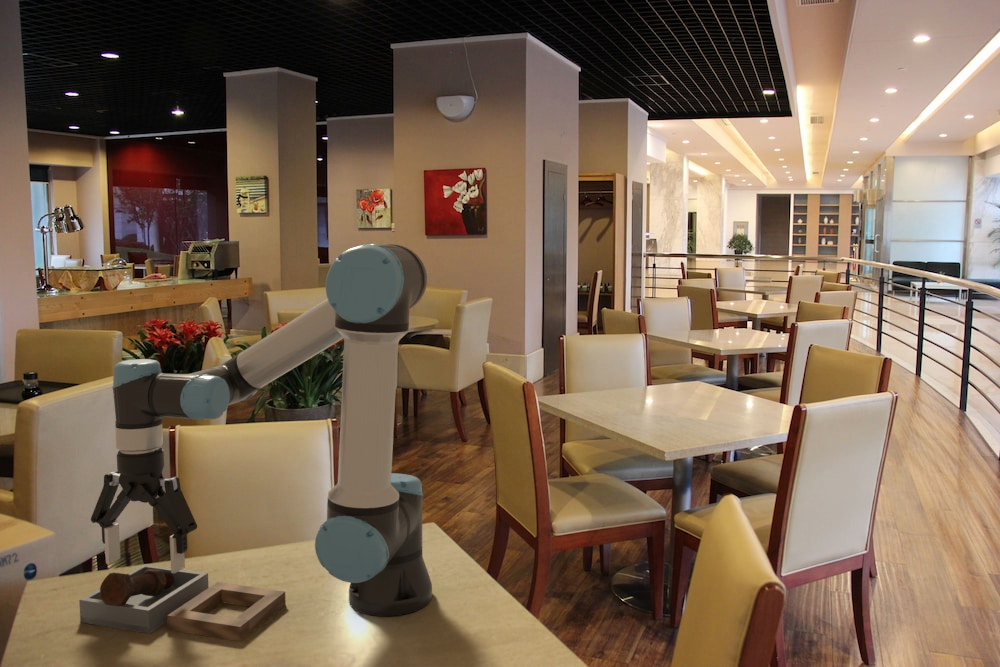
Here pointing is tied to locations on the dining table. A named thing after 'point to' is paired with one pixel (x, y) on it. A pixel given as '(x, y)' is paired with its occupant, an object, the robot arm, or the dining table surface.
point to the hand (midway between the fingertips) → (145, 565)
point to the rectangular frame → (198, 622)
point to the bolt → (134, 586)
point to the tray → (144, 602)
